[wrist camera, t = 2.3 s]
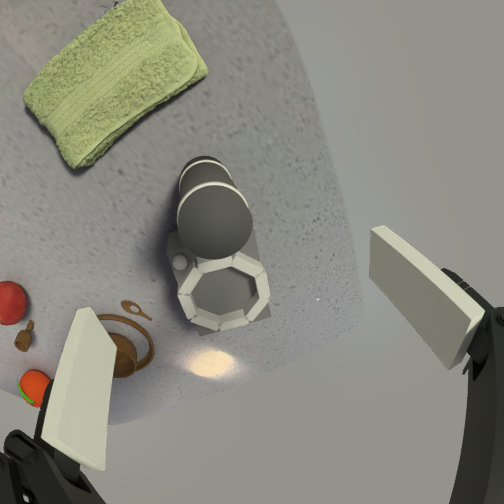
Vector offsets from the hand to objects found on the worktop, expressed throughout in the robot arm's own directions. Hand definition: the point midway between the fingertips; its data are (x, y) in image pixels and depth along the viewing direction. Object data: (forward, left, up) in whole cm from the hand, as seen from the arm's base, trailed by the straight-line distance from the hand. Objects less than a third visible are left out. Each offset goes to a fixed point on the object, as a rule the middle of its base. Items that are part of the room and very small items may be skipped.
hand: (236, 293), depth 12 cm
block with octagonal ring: (-1, -11, -21) cm, 24 cm away
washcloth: (-7, +14, -22) cm, 26 cm away
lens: (0, 0, -21) cm, 21 cm away
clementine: (-40, -24, -21) cm, 51 cm away
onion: (-30, -6, -21) cm, 37 cm away
